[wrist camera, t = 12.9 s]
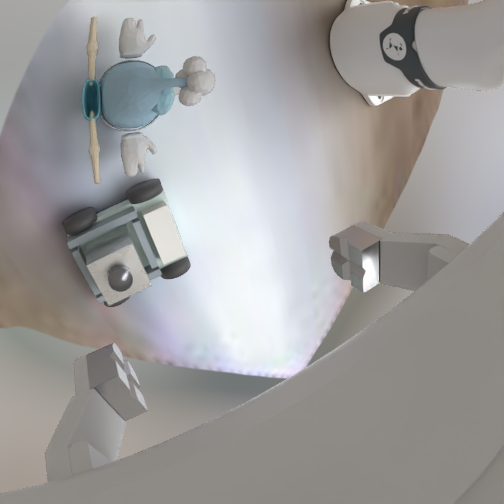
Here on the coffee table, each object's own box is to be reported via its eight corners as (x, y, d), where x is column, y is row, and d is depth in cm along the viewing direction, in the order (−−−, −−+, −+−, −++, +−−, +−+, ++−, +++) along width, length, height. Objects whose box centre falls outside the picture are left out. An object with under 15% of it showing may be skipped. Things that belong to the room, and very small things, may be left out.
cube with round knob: (125, 224, 34) (133, 247, 28) (142, 261, 36) (153, 290, 31) (86, 243, 32) (86, 270, 27) (105, 279, 35) (109, 311, 29)
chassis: (156, 176, 36) (163, 183, 32) (185, 256, 41) (195, 271, 38) (63, 218, 32) (60, 230, 29) (103, 294, 38) (105, 313, 34)
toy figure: (177, 163, 36) (225, 189, 24) (89, 176, 32) (85, 210, 20) (176, 28, 29) (226, -19, 17) (85, 33, 25) (82, -19, 13)
